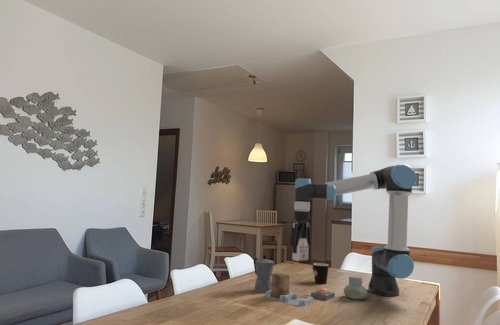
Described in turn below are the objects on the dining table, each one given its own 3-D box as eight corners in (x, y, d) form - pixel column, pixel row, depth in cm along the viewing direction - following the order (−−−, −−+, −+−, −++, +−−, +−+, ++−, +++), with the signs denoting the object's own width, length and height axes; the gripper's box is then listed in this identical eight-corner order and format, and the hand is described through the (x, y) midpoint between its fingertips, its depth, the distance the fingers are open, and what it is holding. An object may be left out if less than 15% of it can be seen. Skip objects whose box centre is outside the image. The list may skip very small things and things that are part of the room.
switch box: (334, 299, 170) (334, 292, 171) (326, 302, 164) (326, 295, 165) (319, 296, 175) (319, 289, 176) (310, 299, 169) (311, 292, 169)
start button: (328, 297, 170) (328, 288, 171) (324, 299, 167) (324, 290, 167) (320, 296, 173) (321, 287, 173) (316, 297, 170) (317, 288, 170)
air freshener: (369, 298, 175) (369, 276, 176) (364, 302, 168) (365, 279, 169) (346, 294, 181) (346, 273, 182) (341, 298, 174) (341, 276, 175)
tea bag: (292, 259, 172) (292, 238, 173) (302, 258, 176) (303, 237, 177) (297, 260, 169) (298, 239, 170) (308, 260, 173) (308, 238, 174)
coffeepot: (279, 295, 174) (280, 256, 176) (263, 297, 169) (264, 257, 171) (260, 287, 187) (262, 252, 189) (245, 289, 182) (246, 252, 184)
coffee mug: (329, 284, 200) (330, 266, 201) (314, 284, 200) (314, 265, 201) (325, 280, 212) (326, 262, 213) (311, 279, 212) (311, 261, 213)
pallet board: (316, 303, 162) (316, 296, 162) (302, 309, 153) (302, 302, 153) (277, 294, 175) (277, 288, 175) (262, 299, 166) (262, 292, 166)
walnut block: (288, 297, 166) (289, 275, 167) (284, 299, 163) (284, 276, 164) (276, 294, 171) (276, 272, 172) (271, 296, 167) (271, 274, 168)
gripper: (306, 210, 185) (304, 256, 183) (283, 210, 170) (281, 260, 167) (319, 211, 180) (318, 258, 178) (296, 211, 165) (295, 262, 163)
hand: (300, 259), depth 173 cm, fingers closed on tea bag, 7 cm apart
